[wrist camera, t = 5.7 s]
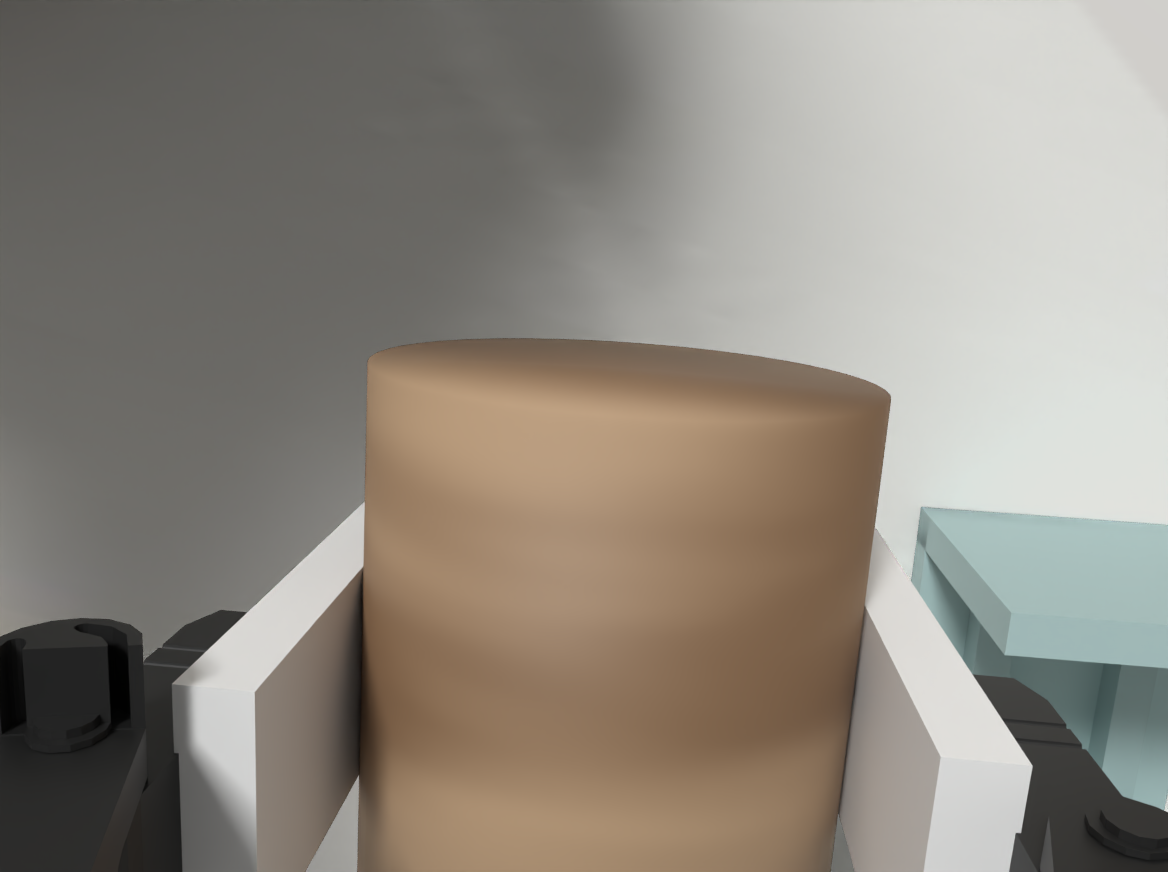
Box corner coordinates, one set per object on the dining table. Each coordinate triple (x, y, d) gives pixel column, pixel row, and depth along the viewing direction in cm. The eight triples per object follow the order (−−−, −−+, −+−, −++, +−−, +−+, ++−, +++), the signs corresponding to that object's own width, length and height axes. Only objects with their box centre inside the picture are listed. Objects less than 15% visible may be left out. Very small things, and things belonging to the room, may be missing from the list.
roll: (434, 328, 15) (284, 390, 9) (841, 358, 15) (957, 442, 9) (418, 810, 17) (282, 1126, 11) (784, 850, 16) (849, 1199, 10)
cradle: (921, 507, 30) (1011, 612, 22) (1201, 527, 29) (1394, 642, 22) (873, 863, 32) (939, 1069, 25) (1129, 887, 32) (1278, 1105, 24)
